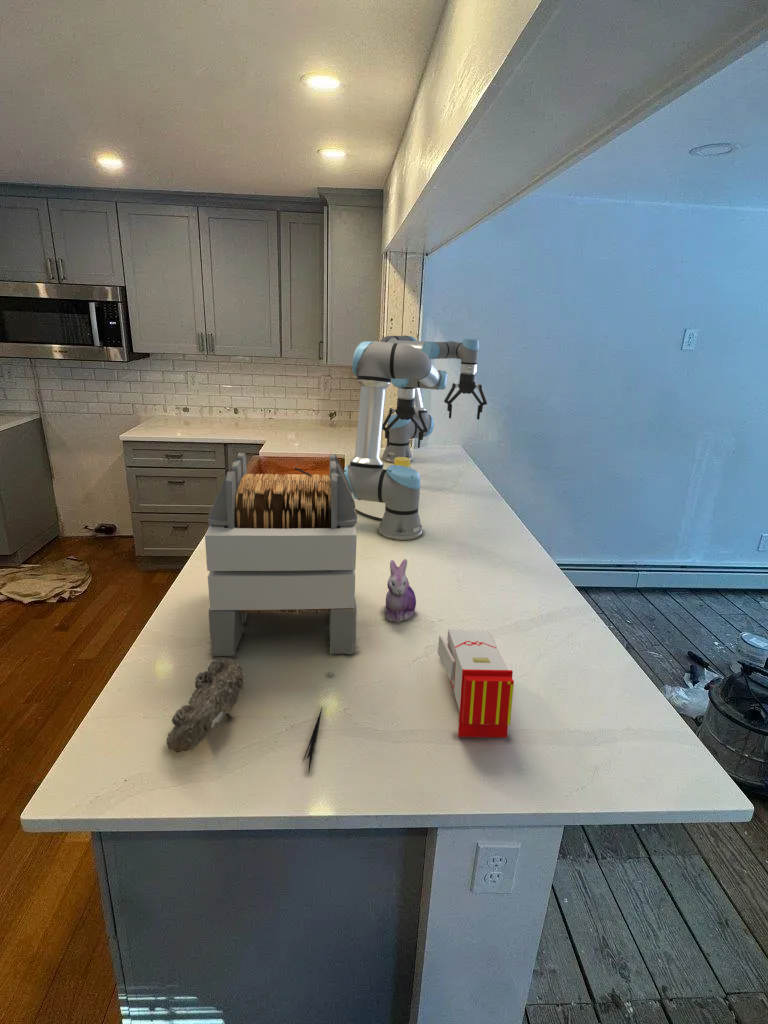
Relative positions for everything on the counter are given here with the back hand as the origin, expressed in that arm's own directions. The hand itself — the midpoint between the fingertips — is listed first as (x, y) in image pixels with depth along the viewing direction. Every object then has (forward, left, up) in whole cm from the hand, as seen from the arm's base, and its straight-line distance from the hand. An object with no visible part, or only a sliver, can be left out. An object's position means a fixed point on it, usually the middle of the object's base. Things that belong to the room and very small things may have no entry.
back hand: (463, 418), depth 272 cm
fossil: (+182, -73, -26) cm, 198 cm away
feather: (+182, -53, -26) cm, 191 cm away
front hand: (+26, -30, -9) cm, 41 cm away
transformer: (+145, -64, -26) cm, 161 cm away
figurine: (+141, -36, -26) cm, 148 cm away
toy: (+172, -23, -26) cm, 176 cm away
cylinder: (+26, -30, -26) cm, 48 cm away
